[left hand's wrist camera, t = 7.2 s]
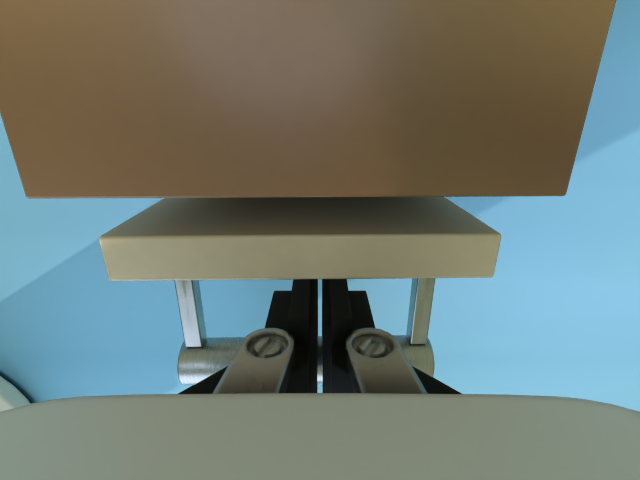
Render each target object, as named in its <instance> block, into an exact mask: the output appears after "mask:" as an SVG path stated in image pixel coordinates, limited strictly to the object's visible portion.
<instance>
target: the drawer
mask: <svg viewBox="0 0 640 480" xmlns="http://www.w3.org/2000/svg"><path fill="white" fill-rule="evenodd" d="M99 241H100V245H101V249H102V253H103V257H104V261H105V266H106V270H107V274H108V278H109V280H111V281H157V280H174V281H175V287H176V293H177V299H178V305H179V311H180V317H181V323H182V329H183V335H184V343H183V344H182V347H181V350H180V353H179V358H178V378H179V381H180V383H181V384H183V385H195V384H196V383H198V382H200V381H202V380H204V379H205V378H207V377H209V376H211V375H212V374H214V373H216V372H218V371H219V370H221V369H223V368H225V367H227V366H228V365H229V364H230V362H231V360H232V358H233V356H234V355H235V353H236V351H237V349H238V348H239V346H240V344H241V342H242V341H243V340H244V338H245V337H221V338H206V330H205V322H204V315H203V308H202V301H201V294H200V287H199V280H267V279H378V278H412V288H411V297H410V306H409V316H408V325H407V335H393V336H394V337H395V338H396V340H397V341H398V342H399V344H400V346H401V348H402V349H403V351H404V353H405V355H406V356H407V358H408V360H409V362H410V364H411V365H412V366H413V367H415V368H417V369H419V370H421V371H422V372H424V373H426V374H428V375H429V376H431V377H433V374H434V355H433V350H432V346H431V343H430V341H429V339H428V337H427V336H428V329H429V321H430V314H431V306H432V299H433V291H434V284H435V278H488V277H493V275H494V271H495V266H496V261H497V256H498V251H499V246H500V241H501V234H500V233H498V232H497V231H495V230H494V229H492V228H491V227H489V226H488V225H486V224H485V223H483V222H482V221H480V220H479V219H477V218H475V217H474V216H472V215H471V214H469V213H468V212H466V211H465V210H463V209H462V208H460V207H459V206H457V205H456V204H454V203H452V202H451V201H449V200H448V199H446V198H445V197H235V198H164V199H163V200H161V201H159V202H158V203H156V204H154V205H153V206H151V207H149V208H147V209H146V210H144V211H142V212H141V213H139V214H137V215H136V216H134V217H132V218H131V219H129V220H127V221H125V222H124V223H122V224H120V225H119V226H117V227H115V228H114V229H112V230H110V231H108V232H107V233H105V234H103V235H102V236H100V238H99ZM317 383H323V362H322V336H318V362H317Z"/></svg>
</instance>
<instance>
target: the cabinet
mask: <svg viewBox="0 0 640 480" xmlns="http://www.w3.org/2000/svg"><path fill="white" fill-rule="evenodd" d="M615 3H616V0H0V114H1V117H2V120H3V123H4V127H5V130H6V133H7V136H8V139H9V143H10V146H11V149H12V152H13V156H14V159H15V162H16V165H17V169H18V172H19V175H20V178H21V181H22V185H23V188H24V191H25V194H26V197H27V198H235V197H460V196H564V195H566V192H567V188H568V184H569V180H570V176H571V173H572V169H573V165H574V161H575V157H576V153H577V149H578V146H579V142H580V138H581V134H582V130H583V126H584V122H585V119H586V115H587V111H588V107H589V103H590V99H591V95H592V91H593V88H594V84H595V80H596V76H597V72H598V68H599V64H600V61H601V57H602V53H603V49H604V45H605V41H606V37H607V34H608V30H609V26H610V22H611V18H612V14H613V10H614V7H615Z"/></svg>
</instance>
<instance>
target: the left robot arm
mask: <svg viewBox="0 0 640 480" xmlns="http://www.w3.org/2000/svg"><path fill="white" fill-rule="evenodd" d="M317 362H318V279H293V286H292V291H274V293H273V297H272V301H271V305H270V309H269V313H268V317H267V321H266V325H265V328H264V329H259V330H257V331H254V332H252V333H250V334H249V335H247V336H246V337H245V338H244V340H243V341H242V342H241V344H240V346H239V348H238V349H237V351H236V353H235V355H234V356H233V358H232V360H231V362H230V364H229V365H228V366H227V367H225V368H223V369H221V370H219V371H218V372H216V373H214V374H212V375H211V376H209V377H207V378H205V379H204V380H202V381H200V382H198V383H196V384H195V385H193V386H191V387H189V388H188V389H186V390H184V391H182V392H180V393H179V394H160V395H110V396H83V397H73V398H62V399H54V400H49V401H43V402H38V403H32V404H31V403H30V402H29V401H28V399H27V398H26V397H25V396H24V395H23V394H22V393H21V392H20V391H19V390H18V389H17V388H16V387H15V386H13V385H12V384H11V383H9V382H8V381H7V380H5V379H4V378H2V377H1V376H0V480H640V412H638V411H635V410H631V409H627V408H624V407H620V406H616V405H613V404H608V403H602V402H597V401H591V400H586V399H578V398H567V397H557V396H530V395H487V394H461V393H460V392H458V391H456V390H454V389H452V388H451V387H449V386H447V385H445V384H444V383H442V382H440V381H438V380H436V379H435V378H433V377H431V376H429V375H428V374H426V373H424V372H422V371H421V370H419V369H417V368H415V367H413V366H412V365H411V364H410V362H409V360H408V358H407V356H406V355H405V353H404V351H403V349H402V348H401V346H400V344H399V342H398V341H397V340H396V338H395V337H394V336H393V335H391V334H390V333H388V332H386V331H383V330H381V329H376V328H375V325H374V321H373V317H372V313H371V309H370V305H369V301H368V297H367V293H366V291H348V286H347V279H322V362H323V393H317Z"/></svg>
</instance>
